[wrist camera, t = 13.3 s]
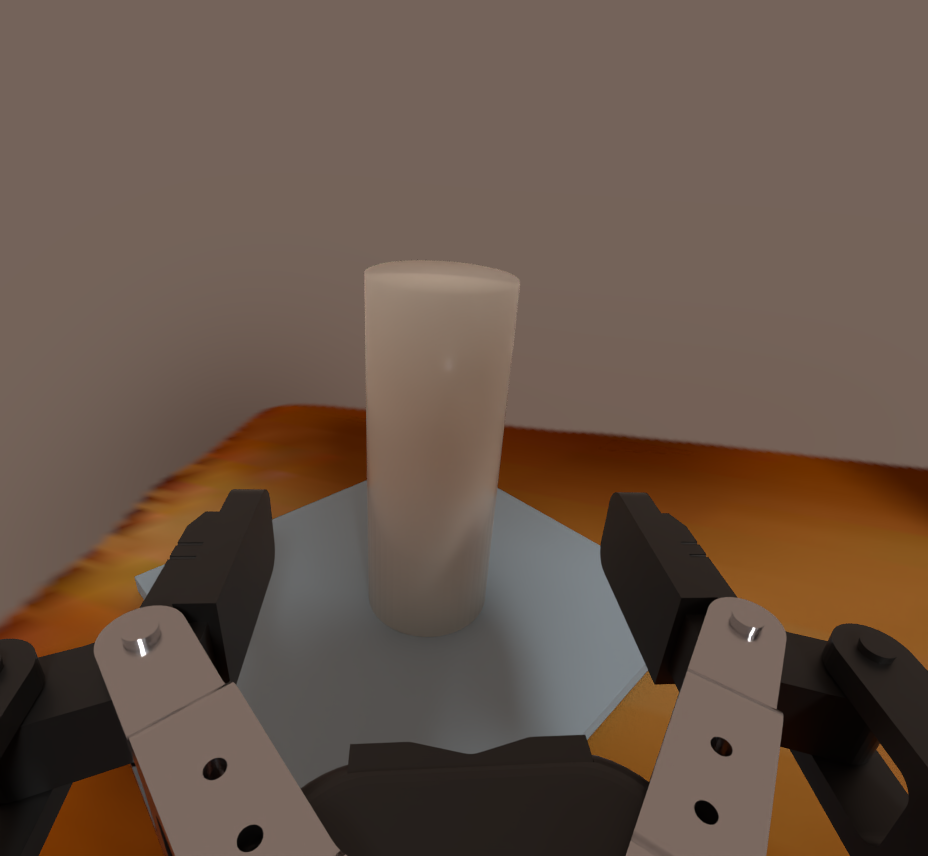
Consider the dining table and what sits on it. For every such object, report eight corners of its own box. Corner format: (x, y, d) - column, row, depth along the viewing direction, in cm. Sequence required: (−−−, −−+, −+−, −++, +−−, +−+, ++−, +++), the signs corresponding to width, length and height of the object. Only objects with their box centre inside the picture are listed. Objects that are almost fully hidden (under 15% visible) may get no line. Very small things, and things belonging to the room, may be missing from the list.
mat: (433, 462, 37) (434, 452, 37) (695, 615, 26) (700, 602, 26) (138, 590, 25) (134, 576, 25) (388, 967, 14) (388, 952, 14)
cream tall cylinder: (467, 547, 28) (493, 261, 22) (500, 626, 24) (544, 295, 17) (362, 560, 27) (357, 259, 20) (376, 646, 22) (374, 294, 16)
